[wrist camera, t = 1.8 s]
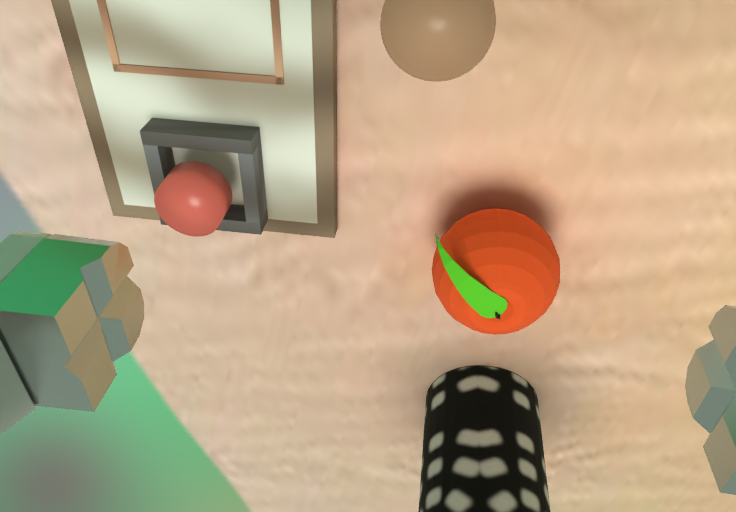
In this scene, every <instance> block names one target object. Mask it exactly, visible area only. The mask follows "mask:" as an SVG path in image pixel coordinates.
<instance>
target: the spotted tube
mask: <svg viewBox="0 0 736 512" xmlns="http://www.w3.org/2000/svg"><path fill="white" fill-rule="evenodd" d="M419 512H550V504H549V495H548V486H547V477H546V469H545V460H544V451H543V442H542V434H541V425H540V416H539V407H538V400H537V395H536V393H535V391H534V389H533V388H532V387H531V385H530V384H529V383H528V382H527V381H525V380H524V379H523V378H521V377H520V376H518V375H516V374H514V373H512V372H510V371H507V370H504V369H501V368H495V367H489V366H471V367H464V368H459V369H455V370H453V371H450V372H448V373H445V374H444V375H442V376H441V377H439V378H438V379H437V380H436V381H435V382H433V383H432V385H431V386H430V388H429V390H428V393H427V396H426V410H425V425H424V440H423V455H422V469H421V484H420V499H419Z"/></svg>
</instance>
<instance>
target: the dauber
mask: <svg viewBox="0 0 736 512" xmlns="http://www.w3.org/2000/svg"><path fill="white" fill-rule="evenodd" d="M380 23H381V35H382V40H383V43H384V46H385V48H386V51H387V52H388V54H389V56H390V57H391V59H392V60H393V61H394V63H395V64H396V65H397V66H398V67H399V68H401V69H402V70H403V71H405V72H406V73H408V74H409V75H411V76H413V77H416V78H418V79H422V80H426V81H446V80H451V79H454V78H457V77H459V76H461V75H463V74H465V73H467V72H468V71H470V70H471V69H473V68H474V67H475V66H476V65H477V64H478V63H479V62H480V61H481V60H482V59H483V57H484V56H485V54H486V53H487V51H488V49H489V47H490V45H491V43H492V40H493V37H494V32H495V25H496V16H495V7H494V0H385V3H384V6H383V9H382V13H381V22H380Z"/></svg>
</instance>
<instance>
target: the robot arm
mask: <svg viewBox="0 0 736 512" xmlns="http://www.w3.org/2000/svg"><path fill="white" fill-rule="evenodd" d="M133 266H134V265H133V262H132V259H131V256H130V253H129V250H128V247H126V246H125V245H123V244H121V243H119V242H112V241H104V240H96V239H88V238H80V237H73V236H65V235H57V234H54V235H51V234H45V233H36V232H28V231H19V232H16V233H12V234H10V235H9V236H8V237H6V238H5V239H4V240H3V241H2V242H1V243H0V435H1V434H2V433H3V432H5V431H6V430H7V429H9V428H10V427H11V426H13V425H14V424H16V423H17V422H18V421H20V420H21V419H22V418H24V417H25V416H26V415H28V414H29V413H31V412H32V411H33V410H35V406H45V407H55V408H64V409H74V410H84V411H93V412H94V411H95V409H96V408H97V406H98V404H99V402H100V401H101V399H102V398H103V396H104V394H105V393H106V391H107V390H108V388H109V386H110V384H111V383H112V381H113V380H114V378H115V376H116V375H117V374H116V370H115V366H114V361H115V360H116V359H118V358H120V357H121V356H123V355H124V354H126V353H128V352H130V351H131V350H132V348H133V346H134V344H135V342H136V341H137V339H138V337H139V335H140V331H141V327H142V323H143V319H144V301H143V297H142V293H141V290H140V288H139V287H138V286H137V285H136V284H135V283H134V282H133V281H131V280H130V279H129V278H128V277H127V275H128V274H129V272H130V271H131V269H132V267H133ZM709 329H710V331H711V334H712V336H713V338H714V340H713V341H711V342H709V343H707V344H706V345H704V346H702V347H700V348H699V349H697V350H696V351H695V353H694V355H693V357H692V359H691V362H690V364H689V366H688V369H687V377H686V385H685V388H686V395H687V402H688V405H689V408H690V411H691V414H692V417H693V418H694V419H695V420H696V421H697V422H698V423H699V424H700V425H701V426H702V427H703V428H705V429H706V430H707V431H708V432H709V433H710V435H709V436H708V438H707V440H706V442H705V444H704V446H703V448H704V450H705V453H706V456H707V458H708V461H709V464H710V467H711V469H712V472H713V475H714V477H715V480H716V483H717V486H718V488H719V491H720V492H721V493H727V494H734V495H736V306H728V305H725V306H724V307H723V308H721V309H720V310H719V311H718V312H717V313H716V314H715V316H714V318H713V319H712V321H711V323H710V325H709Z"/></svg>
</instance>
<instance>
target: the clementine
mask: <svg viewBox="0 0 736 512" xmlns="http://www.w3.org/2000/svg"><path fill="white" fill-rule="evenodd" d="M435 236H436V241H437V248H436V251H435V255H434V258H433V265H432V275H433V282H434V287H435V292H436V294H437V296H438V298H439V299H440V301H441V303H442V304H443V306H444V308H445V309H446V311H447V312H448V313H449V314H450V315H451V316H452V317H453V318H454V319H455V320H457V321H458V322H460V323H462V324H463V325H465V326H467V327H469V328H470V329H472V330H475V331H478V332H481V333H487V334H507V333H511V332H515V331H519V330H521V329H523V328H525V327H527V326H529V325H530V324H532V323H533V322H535V321H536V320H537V319H538V318H540V317H541V316H542V315H543V314H544V313H545V312H546V311H547V309H548V308H549V306H550V305H551V303H552V302H553V300H554V298H555V296H556V293H557V290H558V287H559V283H560V259H559V257H558V254H557V252H556V249H555V247H554V244H553V242H552V240H551V238H550V236H549V235H548V234H547V233H546V232H545V230H544V229H543V228H542V227H541V226H540V225H539V224H537V223H536V222H535V221H533V220H532V219H530V218H529V217H527V216H526V215H524V214H521V213H518V212H515V211H513V210H508V209H498V208H494V209H485V210H479V211H476V212H474V213H471V214H468V215H466V216H465V217H463V218H461V219H460V220H458V221H457V222H456V223H455V224H454V225H453V226H452V227H451V228H450V229H449V230H448V231H447V232H446V233H445V234H444V235H443V236H442V238H441V240H440V241H439V239H438V237H437V235H436V234H435Z"/></svg>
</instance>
